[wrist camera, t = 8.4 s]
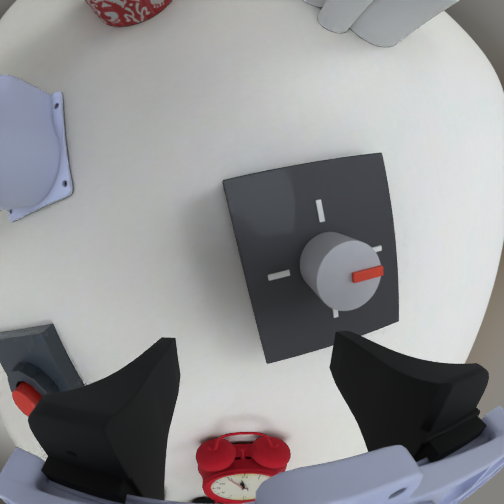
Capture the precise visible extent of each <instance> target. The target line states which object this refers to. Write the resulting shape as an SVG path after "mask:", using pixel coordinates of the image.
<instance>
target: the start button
mask: <svg viewBox="0 0 504 504" xmlns="http://www.w3.org/2000/svg"><path fill="white" fill-rule="evenodd" d="M12 397H13V400H14V402H15V404H16V405H17V406H18V408H19V409H20V410H21V411H22V412H23V413H24V414H25V415H27V416H28V417H29V415H30V413H31V412H32V410H33V409H34V408H35V406H36V405H37V403H38V402H39V401H40V399H41V398H42V396H41V394H39V393H38V392H37V391H36V390H35V389H34V388H33V387H32V386H31V385H29V384H27V383H26V382H21V383H20V384H19V385H18V387H17V388H16V389H15V390H14V391H13V393H12Z"/></svg>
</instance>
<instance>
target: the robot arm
mask: <svg viewBox="0 0 504 504" xmlns="http://www.w3.org/2000/svg"><path fill="white" fill-rule="evenodd" d="M58 104H59V106H58V108H57V109H56V107H57V105H58ZM66 181H67V186H65V182H66ZM72 191H73V186H72V181H71V175H70V169H69V162H68V155H67V147H66V138H65V127H64V114H63V94H62V92H60V91H57V92H55V93H53V94H49V93H47V92H45V91H43V90H41V89H39V88H37V87H35V86H33V85H31V84H29V83H27V82H25V81H23V80H21V79H19V78H17V77H14V76H11V75H0V211H3V210H8V214H9V219H10V221H12V222H14V221H17V220H19V219H21V218H22V217H24V216H26V215H28V214H30V213H33V212H35V211H37V210H39V209H41V208H43V207H45V206H47V205H49V204H52V203H54V202H56V201H58V200H61V199H63V198H65V197H68V196H70V195H71V194H72ZM12 210H13V212H12ZM330 370H331V373H332V376H333V378H334V381H335V383H336V385H337V387H338V389H339V391H340V393H341V394H342V396H343V398H344V400H345V401H346V403H347V405H348V406H349V408H350V410H351V412H352V413H353V415H354V417H355V419H356V421H357V423H358V425H359V428H360V430H361V433H362V435H363V438H364V441H365V443H366V446H367V449H368V452H367V453H364V454H360V455H356V456H353V457H349V458H345V459H341V460H337V461H332V462H328V463H323V464H318V465H312V466H306V467H300V468H297V469H293V470H289V471H285V472H281V473H279V474H277V475H275V476H273V477H271V478H269V479H267V480H265V481H264V482H262V484H261V485H260V486H259V488H258V489H257V491H256V496H255V501H252V502H246V503H240V504H459V503H460V502H461V501H463V500H464V499H466V498H467V497H468V496H470V495H471V494H472V493H473V492H475V491H476V490H477V489H479V488H480V487H481V486H482V485H483V484H485V483H486V482H487V481H488V480H489V479H490V478H492V477H493V476H494V475H495V474H496V473H498V472H499V471H500V470H501V469H502V467H503V466H504V409H502V407H501V406H498V407H496V408H495V409H493V410H492V411H491V412H489V413H488V414H486V415H485V416H484V417H483V418H482V419H480V418H479V417H478V415H479V413H480V410H478V409H477V408H476V406H477V404H478V403H479V401H480V399H481V397H482V395H483V393H484V391H485V388H486V386H487V383H488V379H489V373H488V371H487V370H486V369H485V368H483V367H482V366H481V365H479V364H477V363H474V364H449V363H439V362H432V361H427V360H422V359H417V358H414V357H410V356H407V355H404V354H401V353H398V352H395V351H393V350H390V349H388V348H386V347H383V346H381V345H379V344H377V343H375V342H372V341H370V340H368V339H366V338H364V337H362V336H360V335H358V334H355V333H353V332H350V331H338V332H335V339H334V345H333V351H332V357H331V363H330ZM179 383H180V369H179V362H178V355H177V348H176V340H175V338H161V339H159V340H158V341H157V342H156V343H155V344H153V345H152V346H151V347H150V348H149V349H147V350H146V351H145V352H144V353H143V354H141V355H140V356H139V357H138V358H136V359H135V360H133V361H132V362H131V363H129V364H128V365H126V366H125V367H124V368H122V369H120V370H119V371H117V372H115V373H113V374H112V375H110V376H108V377H106V378H104V379H101V380H99V381H96V382H94V383H92V384H89V385H86V386H83V387H80V388H77V389H73V390H69V391H64V392H58V393H52V394H44V395H43V397H42V398H41V399H40V401H39V402H38V403H37V405H36V406H35V408H34V409H33V410H32V412H31V413H30V415H29V418H28V422H29V426H30V429H31V431H32V432H33V434H34V436H35V437H36V439H37V441H38V442H39V443H40V445H41V446H42V448H43V449H44V451H45V452H46V454H47V455H48V458H47V460H46V462H44V461H43V460H42V459H41V458H39V457H38V456H36V455H34V454H31V453H29V452H27V451H25V450H23V449H21V448H19V447H16V448H15V450H14V451H13V453H12V454H11V456H10V458H9V460H8V461H7V463H6V464H5V466H4V468H3V470H2V471H1V473H0V498H1V499H2V500H4V501H5V502H6V503H7V504H202V503H185V502H174V501H165V500H164V478H165V460H166V448H167V439H168V433H169V428H170V424H171V420H172V416H173V412H174V408H175V404H176V400H177V396H178V392H179Z"/></svg>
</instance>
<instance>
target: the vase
mask: <svg viewBox="0 0 504 504" xmlns="http://www.w3.org/2000/svg"><path fill="white" fill-rule="evenodd" d="M303 1H305V2H307V3H309V4H312V5H314V6H317V7H322V9H321V11H320V12H319V14H318V16H317V19H318V21H319V23H320V24H321V25H322V26H323V27H325V28H326V29H328V30H330V31H332V32H336V33H343V32H346V31H347V30H348V29H349V28H351V29H352V30H353V31H354V32H355V33H356V34H357V35H359V36H360V37H361V38H362V39H364V40H366V41H368V42H370V43H371V44H374V45H377V46H380V47H391V46H394V45H396V44H397V43H398V42H400V41H401V40H402V39H404V38H405V37H406V36H408V35H409V34H411V33H412V32H413V31H415V30H416V29H418V28H419V27H420V26H422V25H423V24H425V23H426V22H428V21H429V20H430V19H432V18H433V17H435V16H436V15H438V14H439V13H441V12H442V11H444V10H445V9H447V8H448V7H450V6H451V5H453V4H455V3H456V2H458V1H459V0H303Z"/></svg>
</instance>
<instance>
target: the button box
mask: <svg viewBox="0 0 504 504" xmlns="http://www.w3.org/2000/svg"><path fill="white" fill-rule="evenodd" d="M0 363H1V365H2V367H3V369H4V370H5V372H6V374H7V376H8V382H9V386H10V389H11V391H12V393H13V391H14V390H15V389H16V388H17V387H18V385H19V384H20V383H21V382H26V383H27V384H29V385H31V386H32V387H33V388H34V389H35V390H36V391H37V392H38V393H39V394H41V396H42V397H43V395H44V394H52V393H58V392H64V391H69V390H73V389H77V388H80V387H83V386H84V385H83V383H82V381H81V379H80V378H79V376H78V374H77V372H76V371H75V369H74V367H73V365H72V363H71V361H70V359H69V357H68V355H67V354H66V352H65V350H64V347H63V345H62V343H61V341H60V339H59V337H58V335H57V333H56V330H55V328H54V326H53V324H50V325H44V326H38V327H32V328H26V329H20V330H13V331H7V332H0Z"/></svg>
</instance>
